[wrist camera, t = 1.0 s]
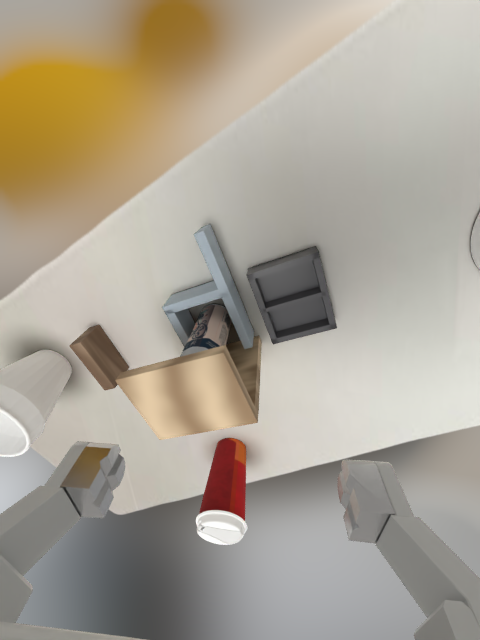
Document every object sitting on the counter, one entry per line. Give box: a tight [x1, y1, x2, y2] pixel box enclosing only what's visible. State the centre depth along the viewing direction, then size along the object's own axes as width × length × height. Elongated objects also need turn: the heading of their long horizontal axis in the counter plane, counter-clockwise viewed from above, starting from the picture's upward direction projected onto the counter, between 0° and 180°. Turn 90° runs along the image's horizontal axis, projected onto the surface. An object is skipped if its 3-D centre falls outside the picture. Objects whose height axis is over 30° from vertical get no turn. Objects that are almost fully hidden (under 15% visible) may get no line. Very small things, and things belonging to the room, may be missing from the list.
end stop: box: [70, 325, 129, 390], centre depth 43 cm, size 2×9×5 cm, turn 20°
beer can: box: [180, 304, 232, 357], centre depth 35 cm, size 5×5×12 cm
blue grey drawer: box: [162, 224, 254, 349], centre depth 36 cm, size 9×16×4 cm, turn 21°
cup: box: [0, 349, 72, 457], centre depth 43 cm, size 12×12×14 cm
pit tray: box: [247, 246, 337, 344], centre depth 36 cm, size 9×11×2 cm
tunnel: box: [115, 336, 262, 440], centre depth 35 cm, size 12×10×15 cm
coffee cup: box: [196, 438, 248, 545], centre depth 49 cm, size 8×8×15 cm
